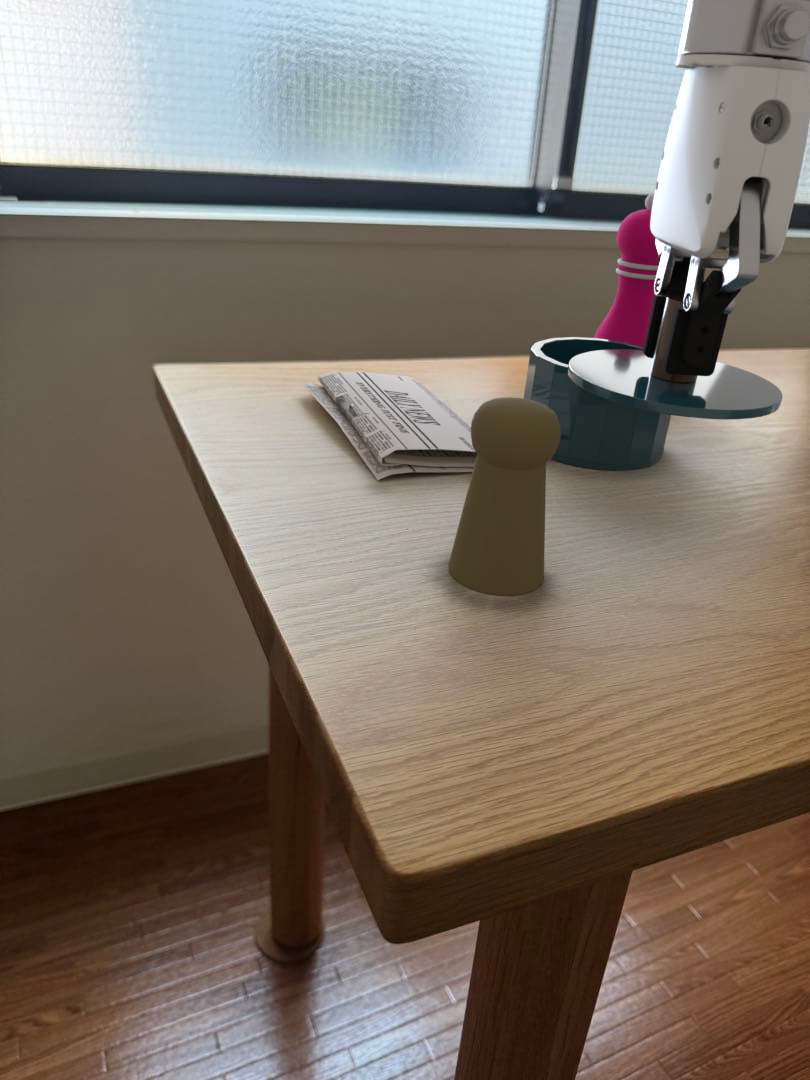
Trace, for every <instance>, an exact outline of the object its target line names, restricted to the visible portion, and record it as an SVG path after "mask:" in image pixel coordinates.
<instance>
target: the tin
mask: <svg viewBox="0 0 810 1080" xmlns="http://www.w3.org/2000/svg"><path fill="white" fill-rule="evenodd" d="M643 347H644V346H639V345H635V344H631V343H626V342H620V341H613V340H606V339H599V338H594V337H582V336H581V337H580V336H568V337H551V338H547V339H543V340H540V341H536V342H535V343H534V344H532V346H531V348H530V352H529V358H528V366H527V373H526V380H525V387H524V394H523V399H528V400H533V401H536V402H540V403H542V404H544V405H546V406H548V407H549V408H550V409H551V410H553V411H554V412H555V413H556V416H557V418H558V420H559V423H560V429H561V436H560V442H559V445H558V447H557V450H556V452H555V454H554V455H553V457H552V458H551V459H550V460H553V461H556V462H559V463H561V464H565V465H570V466H574V467H578V468H584V469H592V470H600V471H633V470H639V469H644V468H648V467H651V466H653V465H655V464H657V463H658V462H659V461H660V460H661V459H662V456H663V453H664V449H665V445H666V440H667V436H668V431H669V428H670V427H669V426H670V422H671V418H672V415H667V414H662V413H656V412H652V411H647V410H643V409H640V408H636V407H632V406H628V405H624V404H621V403H618V402H615V401H611V400H609V399H606V398H603V397H600V396H598V395H596V394H593V393H591V392H589V391H587V390H585V389H583V388H582V387H580V386H579V385H577V384H576V383H574V382H573V381H572V380H571V379H570V377H569V376H568V366H569V362H570V360H571V359H572V358H573V357H575V356H576V355H579V354H582V353H586V352H590V351H597V350H610V349H631V350H643Z"/></svg>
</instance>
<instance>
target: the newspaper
mask: <svg viewBox="0 0 810 1080" xmlns="http://www.w3.org/2000/svg"><path fill="white" fill-rule="evenodd" d="M317 377H318V378H317V379H318V382H319V383H320V384H321V385H319V384H316V383H311V382H303V383H301V384H302V386H303V387H304V388H305V389H306V390H307V391H308V392H309V394H311V396H312V397H313V398H314V400H316V401H317V402H318V403H319V404H320V405H321V406H322V408H323V409H324V410H325V411H326V412H327V413H328V414H329V415H330V416H331V417H332V419H334V421H335V422H336V423H337V425H338V426H339V427H340V429H341V430H342V432H343V433H344V435H345V436H346V438H347V439H348V440H349V442H350V443H351V445H352V446H353V447H354V448H355V451H356V452H357V453H358V454H359V456H360V458H361V459H362V460H363V462H364V463H365V465H366V466H367V467H368V469H369V470H370V472H371V473H372V475H373V476H374V477H375V479H376V480H377V481H380V480H382V479H384V478H387V477H389V476H392V475H399V474H407V473H472V472H473V469H474V465H475V461H476V457H477V453H476V451H475V450H474V448H473V446H472V440H471V425H469V424H468V423H467V422H466V421H465V420H464V419H462V418H461V417H460V416H459V415H458V414H457V413H455V412H454V411H453V410H452V409H451V408H450V407H448V405H447V404H445V403H444V402H443V401H442V400H441V399H439V398H438V397H437V396H436V395H435V394H434V393H433V392H431V390H429V389H428V388H427V387H426V385H423V383H421V382H420V381H419V380H418V379H416V378H413V377H411V376H409V375H408V376H407V375H397V374H387V373H379V372H368V371H328V372H325V373H322V374H319V375H317Z"/></svg>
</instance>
